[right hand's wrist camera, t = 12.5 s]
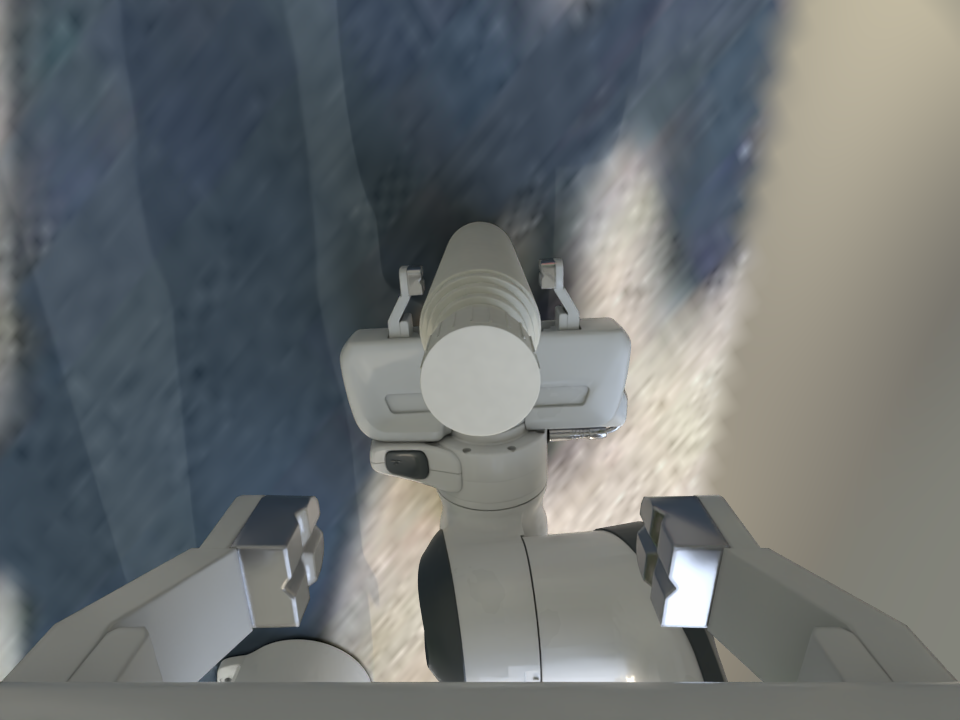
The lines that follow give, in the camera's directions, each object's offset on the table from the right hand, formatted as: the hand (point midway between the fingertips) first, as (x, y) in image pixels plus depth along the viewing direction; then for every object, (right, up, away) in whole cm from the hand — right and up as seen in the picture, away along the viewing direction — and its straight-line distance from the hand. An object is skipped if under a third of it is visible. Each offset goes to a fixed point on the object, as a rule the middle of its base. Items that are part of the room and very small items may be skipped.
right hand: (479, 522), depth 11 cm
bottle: (0, +11, +30) cm, 32 cm away
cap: (0, +3, +7) cm, 8 cm away
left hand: (0, +10, +25) cm, 27 cm away
